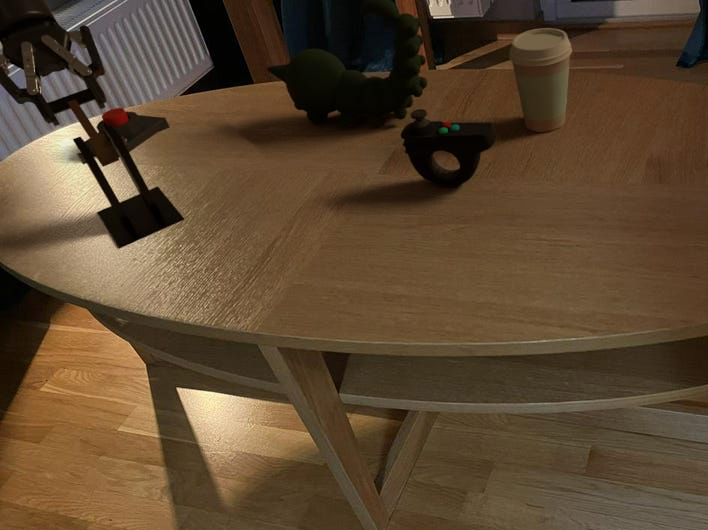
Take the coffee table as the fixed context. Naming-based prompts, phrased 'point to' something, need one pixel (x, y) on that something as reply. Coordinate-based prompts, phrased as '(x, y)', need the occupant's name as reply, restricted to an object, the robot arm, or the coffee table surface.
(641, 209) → the coffee table surface
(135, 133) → the button block
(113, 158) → the lever
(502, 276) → the coffee table surface
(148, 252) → the coffee table surface
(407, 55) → the toy figurine
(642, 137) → the coffee table surface
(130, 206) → the bracket
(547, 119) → the coffee cup
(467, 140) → the controller
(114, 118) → the button
